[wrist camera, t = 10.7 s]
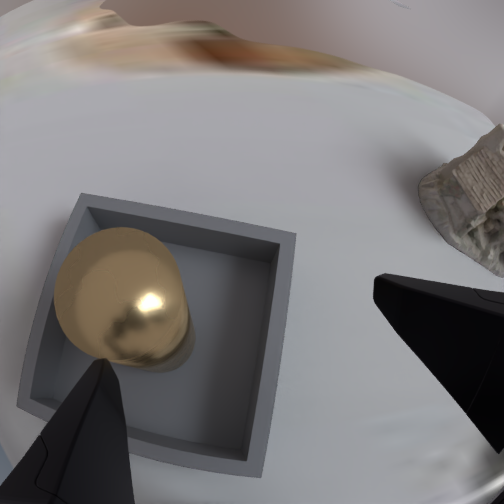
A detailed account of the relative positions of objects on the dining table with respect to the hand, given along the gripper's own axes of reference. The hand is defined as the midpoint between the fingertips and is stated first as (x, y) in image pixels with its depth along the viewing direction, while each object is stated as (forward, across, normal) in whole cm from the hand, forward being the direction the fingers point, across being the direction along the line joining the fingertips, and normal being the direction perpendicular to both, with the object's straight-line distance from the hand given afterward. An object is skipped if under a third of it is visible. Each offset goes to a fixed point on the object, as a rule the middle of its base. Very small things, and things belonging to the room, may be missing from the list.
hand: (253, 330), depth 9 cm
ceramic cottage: (+13, -32, +7) cm, 35 cm away
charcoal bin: (+12, +4, +7) cm, 15 cm away
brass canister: (+11, +4, +7) cm, 14 cm away
